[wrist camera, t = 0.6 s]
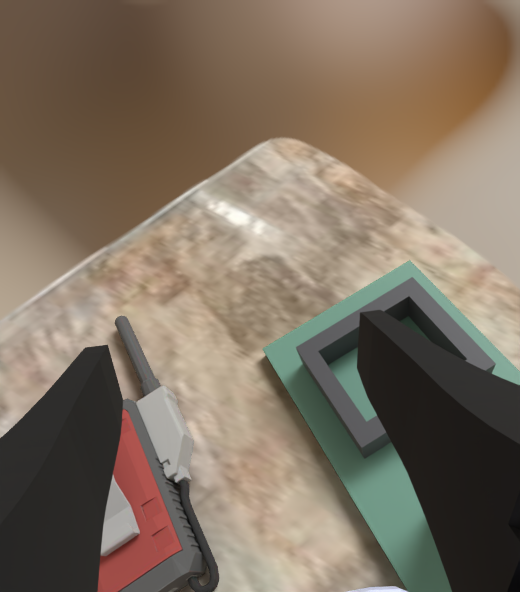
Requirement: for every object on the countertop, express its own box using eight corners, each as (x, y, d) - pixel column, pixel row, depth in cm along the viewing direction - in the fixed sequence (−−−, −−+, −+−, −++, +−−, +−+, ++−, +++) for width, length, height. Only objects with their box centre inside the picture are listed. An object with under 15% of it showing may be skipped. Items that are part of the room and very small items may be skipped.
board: (680, 546, 22) (723, 540, 19) (467, 690, 21) (478, 707, 18) (409, 268, 33) (410, 237, 30) (265, 354, 32) (252, 332, 29)
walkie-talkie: (258, 564, 26) (139, 318, 37) (235, 560, 22) (111, 289, 34) (123, 658, 25) (44, 378, 37) (77, 670, 22) (5, 355, 33)
